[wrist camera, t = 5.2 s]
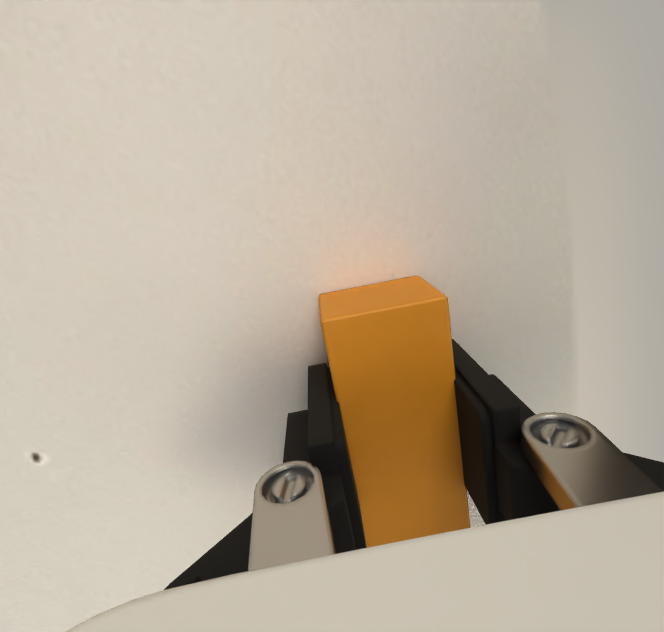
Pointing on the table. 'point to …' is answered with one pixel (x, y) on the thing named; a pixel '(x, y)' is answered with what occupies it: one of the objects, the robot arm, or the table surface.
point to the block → (398, 406)
